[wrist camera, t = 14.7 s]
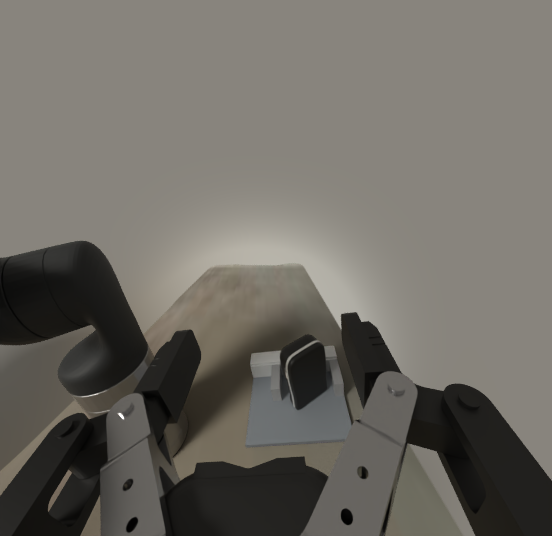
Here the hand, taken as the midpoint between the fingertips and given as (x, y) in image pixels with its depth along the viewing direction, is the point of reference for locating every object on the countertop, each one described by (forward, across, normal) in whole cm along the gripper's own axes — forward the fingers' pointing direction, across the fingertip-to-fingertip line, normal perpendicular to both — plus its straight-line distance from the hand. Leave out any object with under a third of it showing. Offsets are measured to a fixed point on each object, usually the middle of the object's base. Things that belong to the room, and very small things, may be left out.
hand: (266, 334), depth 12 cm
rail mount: (+17, +1, +30) cm, 34 cm away
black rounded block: (+17, -1, +30) cm, 34 cm away
